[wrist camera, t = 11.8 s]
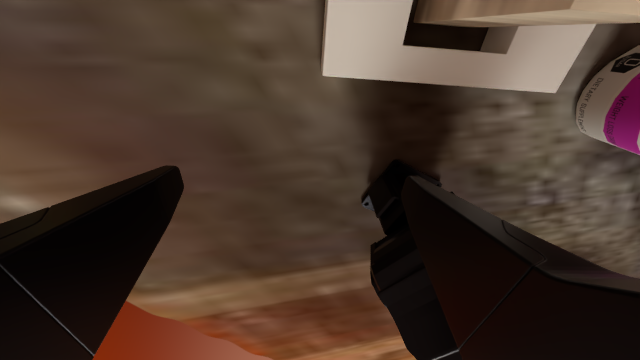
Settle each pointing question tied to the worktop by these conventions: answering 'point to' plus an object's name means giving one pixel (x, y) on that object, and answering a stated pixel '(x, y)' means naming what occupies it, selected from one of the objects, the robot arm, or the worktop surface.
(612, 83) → the supplement can
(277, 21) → the worktop surface
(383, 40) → the white flat frame
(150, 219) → the robot arm
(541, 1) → the block
